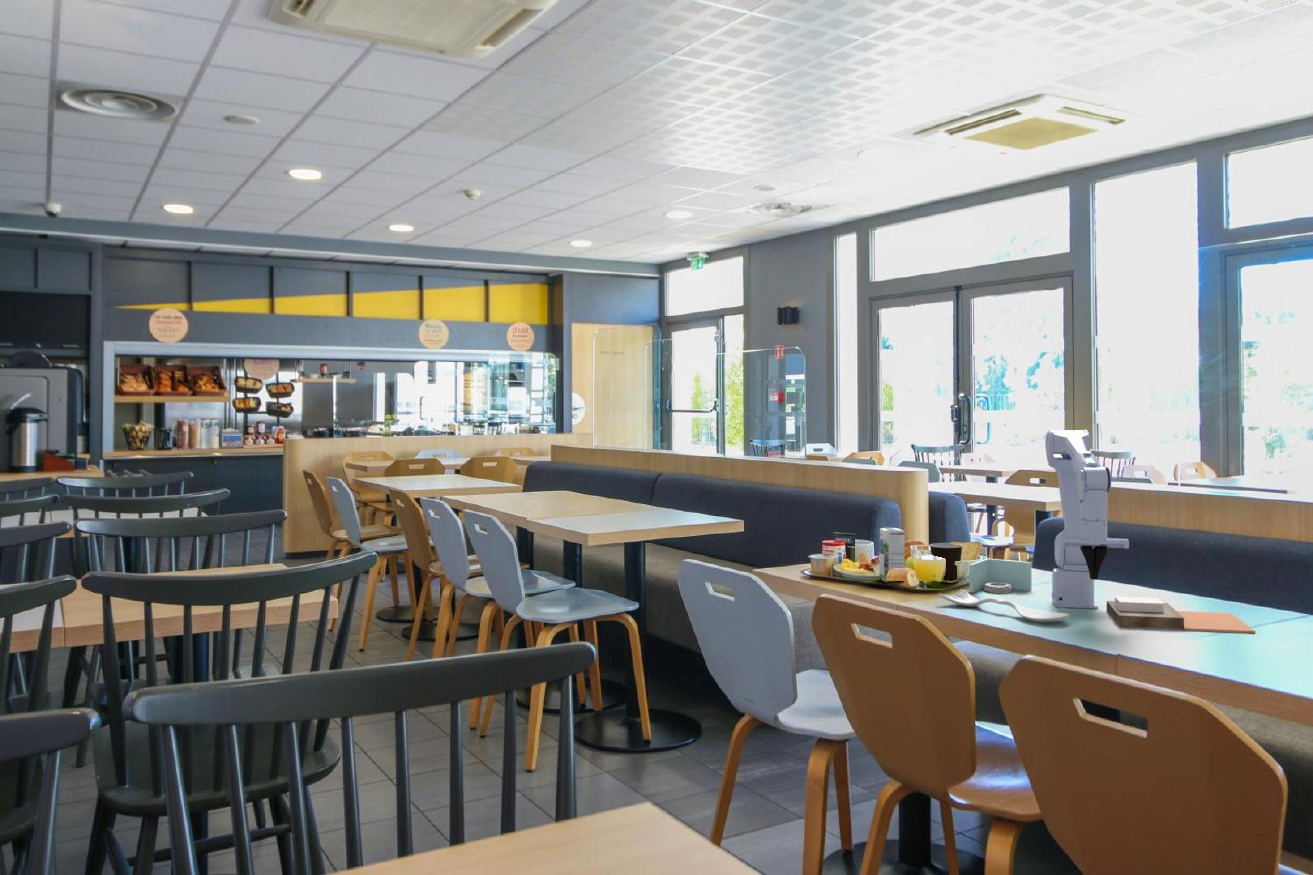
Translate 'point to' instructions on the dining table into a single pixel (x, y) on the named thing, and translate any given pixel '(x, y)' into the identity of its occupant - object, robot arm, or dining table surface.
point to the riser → (1146, 618)
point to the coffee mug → (948, 557)
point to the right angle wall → (1000, 575)
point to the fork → (1025, 612)
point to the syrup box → (891, 550)
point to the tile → (1139, 604)
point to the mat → (1213, 622)
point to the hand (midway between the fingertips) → (1093, 578)
